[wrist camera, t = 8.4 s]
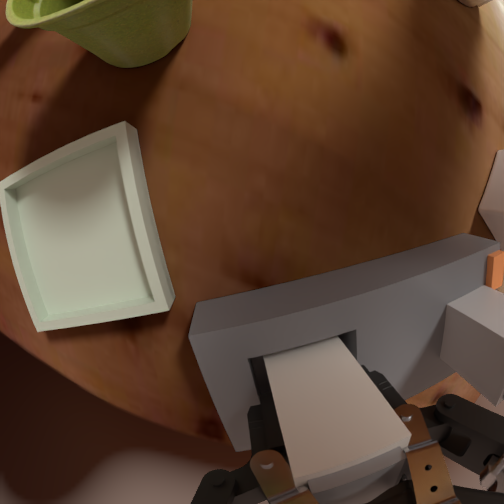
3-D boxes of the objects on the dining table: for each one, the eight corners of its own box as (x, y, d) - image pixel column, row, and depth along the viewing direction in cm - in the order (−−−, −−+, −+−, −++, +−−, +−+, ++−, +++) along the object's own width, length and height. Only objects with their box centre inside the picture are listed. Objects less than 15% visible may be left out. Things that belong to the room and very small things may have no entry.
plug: (328, 323, 15) (419, 445, 6) (332, 375, 16) (398, 491, 6) (259, 341, 15) (297, 492, 5) (271, 391, 16) (305, 524, 6)
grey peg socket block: (463, 232, 16) (573, 264, 6) (457, 332, 18) (536, 389, 8) (196, 302, 15) (162, 454, 5) (233, 411, 17) (243, 540, 7)
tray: (136, 129, 13) (124, 120, 11) (175, 296, 15) (169, 310, 13) (16, 183, 13) (-2, 183, 11) (51, 319, 15) (37, 331, 13)
